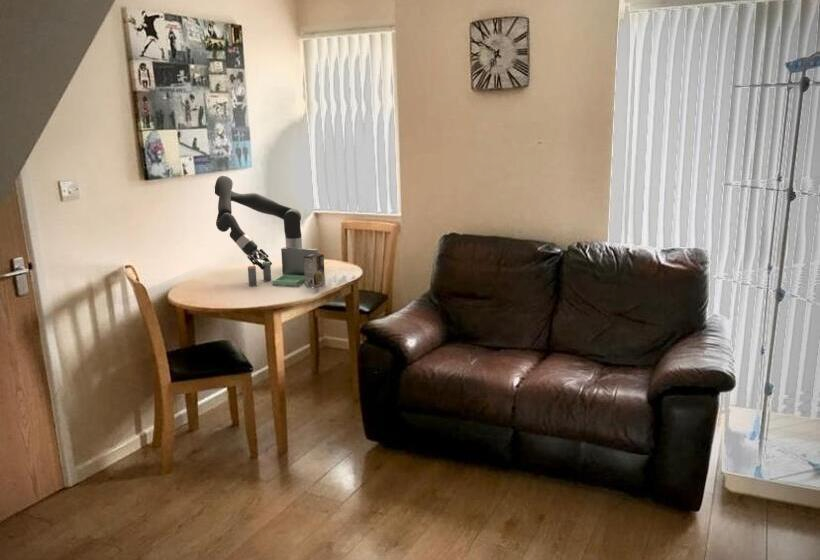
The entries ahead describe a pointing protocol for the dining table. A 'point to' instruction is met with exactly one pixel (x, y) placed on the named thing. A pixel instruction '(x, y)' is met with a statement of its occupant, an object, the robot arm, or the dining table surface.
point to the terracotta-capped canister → (252, 275)
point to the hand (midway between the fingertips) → (267, 266)
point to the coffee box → (314, 270)
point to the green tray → (289, 280)
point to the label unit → (294, 260)
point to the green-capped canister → (267, 271)
